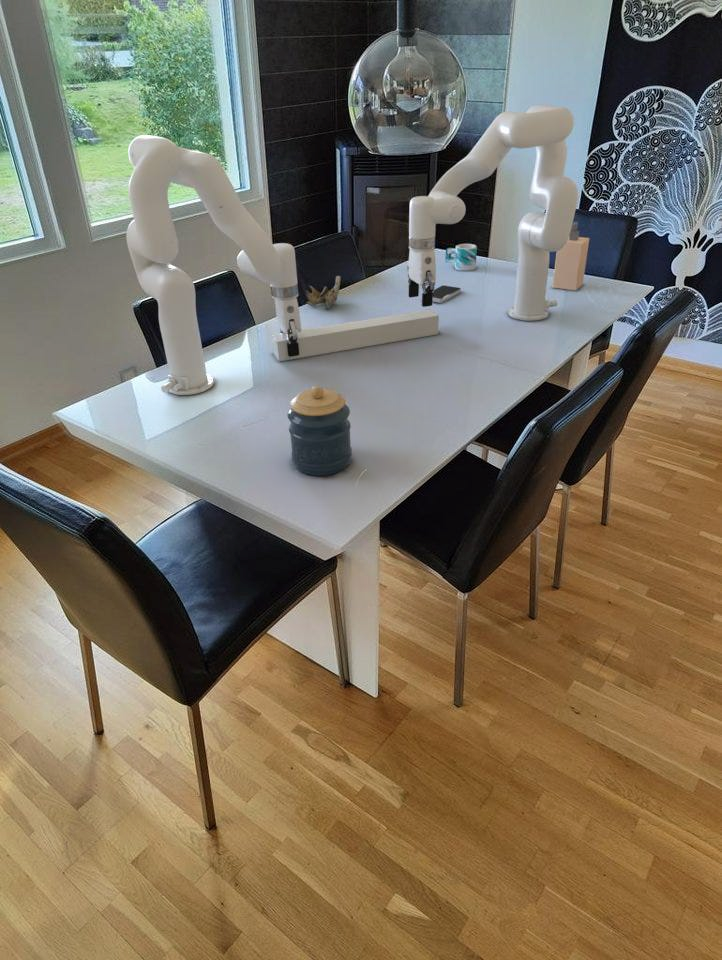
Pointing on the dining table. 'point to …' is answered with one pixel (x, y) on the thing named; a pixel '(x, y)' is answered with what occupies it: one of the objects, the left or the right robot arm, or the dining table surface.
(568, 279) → the tan upright block
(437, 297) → the smartphone
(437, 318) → the beam
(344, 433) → the canister
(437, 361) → the dining table surface
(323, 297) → the jawbone
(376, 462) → the dining table surface
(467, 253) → the mug
